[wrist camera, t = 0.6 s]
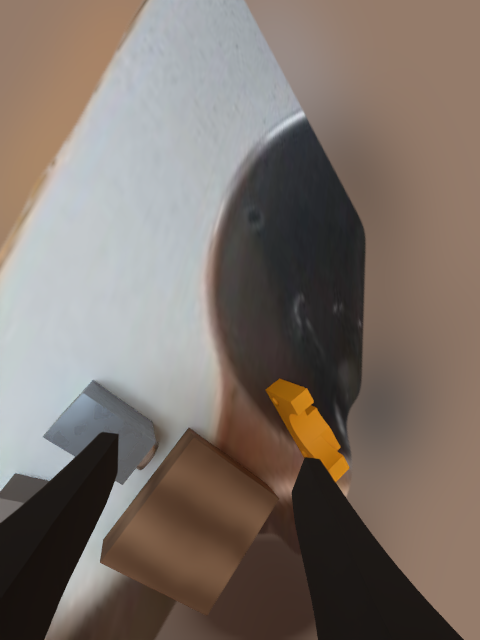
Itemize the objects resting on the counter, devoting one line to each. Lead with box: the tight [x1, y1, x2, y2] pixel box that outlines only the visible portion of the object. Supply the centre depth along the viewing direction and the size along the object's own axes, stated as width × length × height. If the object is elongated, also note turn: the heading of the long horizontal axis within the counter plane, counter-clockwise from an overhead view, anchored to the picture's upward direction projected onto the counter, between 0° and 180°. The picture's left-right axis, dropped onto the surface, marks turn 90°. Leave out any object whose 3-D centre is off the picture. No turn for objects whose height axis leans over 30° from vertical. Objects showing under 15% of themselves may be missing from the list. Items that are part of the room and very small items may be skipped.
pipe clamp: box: [266, 379, 349, 482], centre depth 35 cm, size 12×4×6 cm, turn 31°
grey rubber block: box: [0, 473, 49, 523], centre depth 25 cm, size 4×4×4 cm
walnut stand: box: [100, 428, 279, 615], centre depth 31 cm, size 14×14×3 cm
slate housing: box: [43, 381, 158, 485], centre depth 27 cm, size 4×9×6 cm, turn 49°
